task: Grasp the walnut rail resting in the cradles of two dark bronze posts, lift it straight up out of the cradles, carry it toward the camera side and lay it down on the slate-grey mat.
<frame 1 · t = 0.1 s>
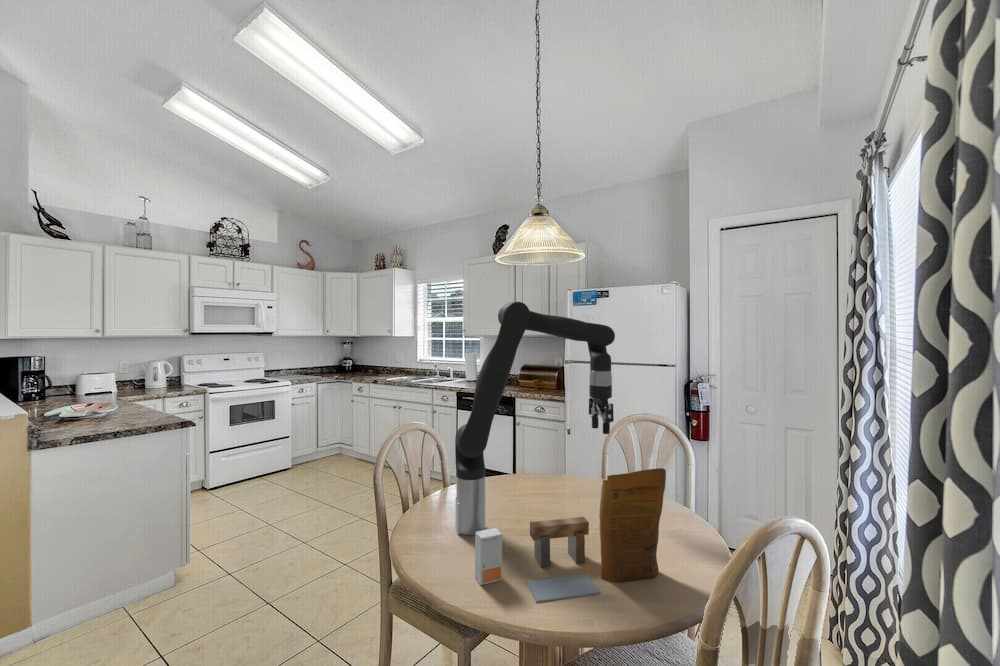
hand: (600, 430, 151), 29 cm above the table, fingers open, 8 cm apart
mat: (562, 588, 109), on the table
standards: (559, 559, 122), on the table
skincare box: (488, 580, 113), on the table
pancake mix bag: (632, 577, 114), on the table
rail: (559, 534, 122), point 7 cm above the table, touching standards
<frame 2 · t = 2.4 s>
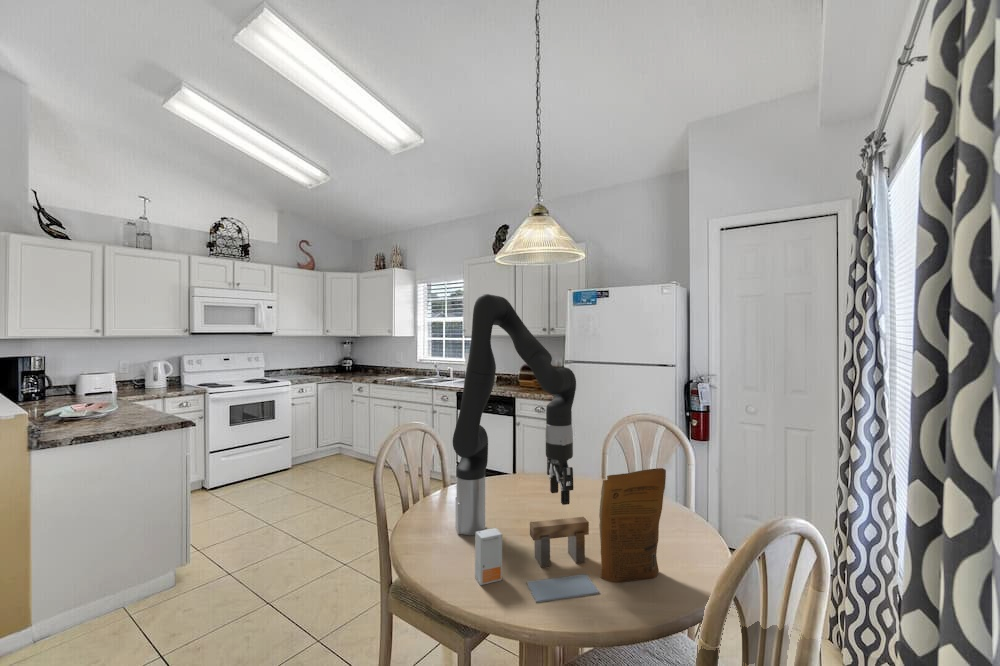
hand: (559, 498, 122), 17 cm above the table, fingers open, 8 cm apart
nothing on the table moved.
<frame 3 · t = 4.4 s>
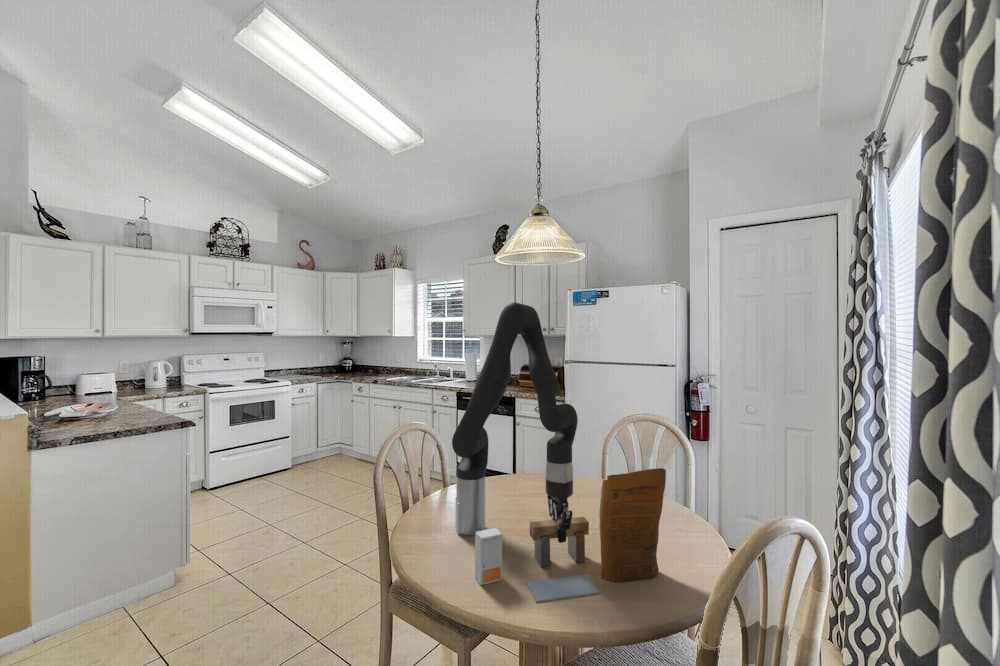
hand: (559, 538, 122), 6 cm above the table, fingers closed on rail, 3 cm apart
rail: (559, 534, 122), point 7 cm above the table, touching gripper, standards
everything else where it was.
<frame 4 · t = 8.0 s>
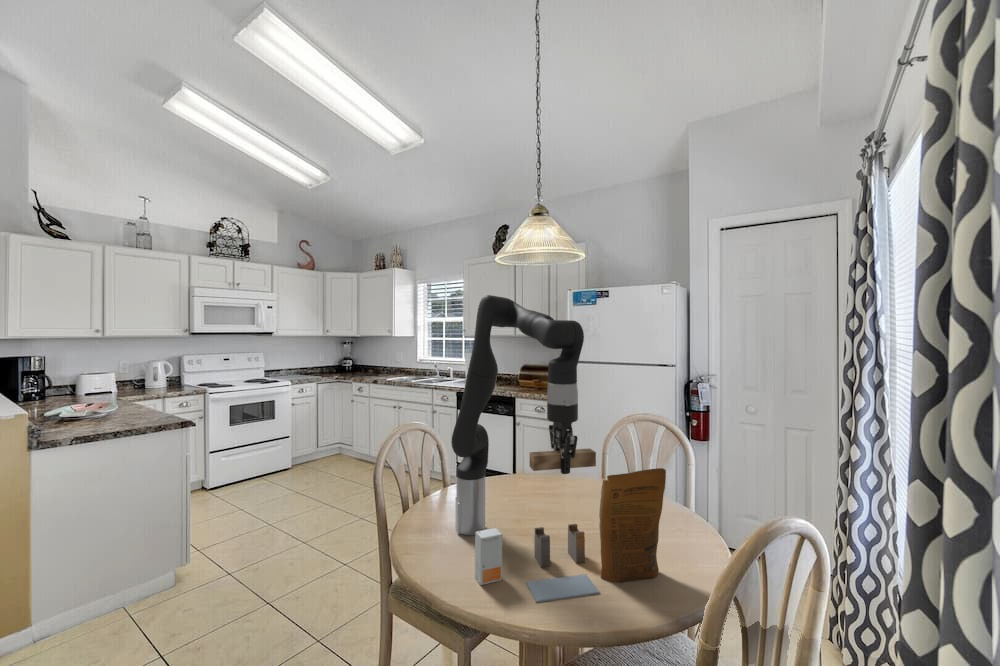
hand: (562, 470, 109), 29 cm above the table, fingers closed on rail, 3 cm apart
rail: (562, 466, 109), point 30 cm above the table, touching gripper
everything else where it was.
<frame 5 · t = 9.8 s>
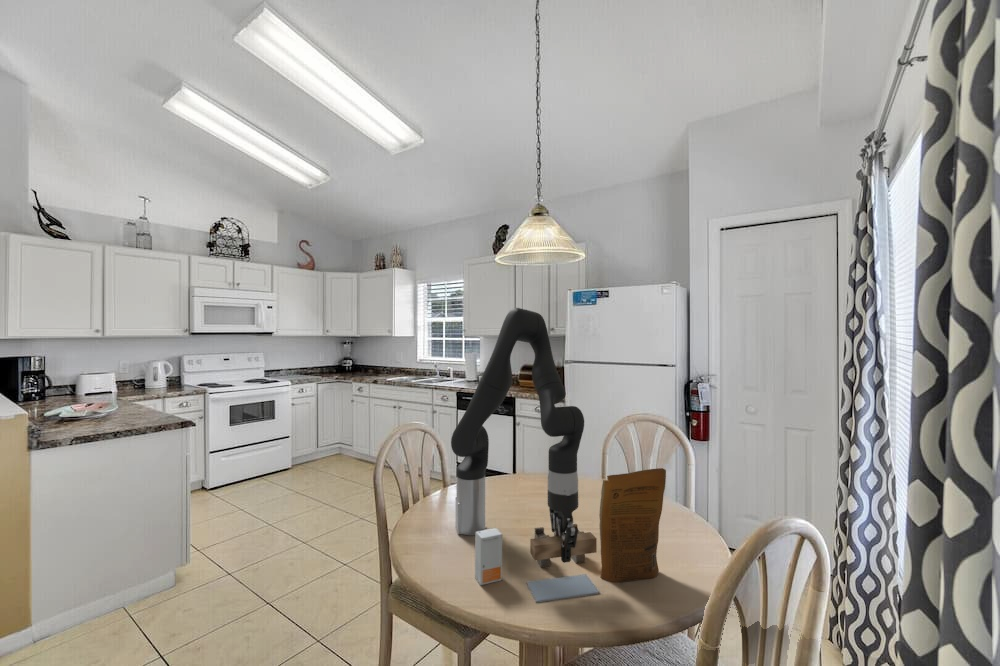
hand: (563, 557, 109), 8 cm above the table, fingers closed on rail, 3 cm apart
rail: (563, 552, 109), point 9 cm above the table, touching gripper
everything else where it was.
when the fingers open (1 cm above the table, at t = 11.4 s): rail drops 2 cm, resting on mat.
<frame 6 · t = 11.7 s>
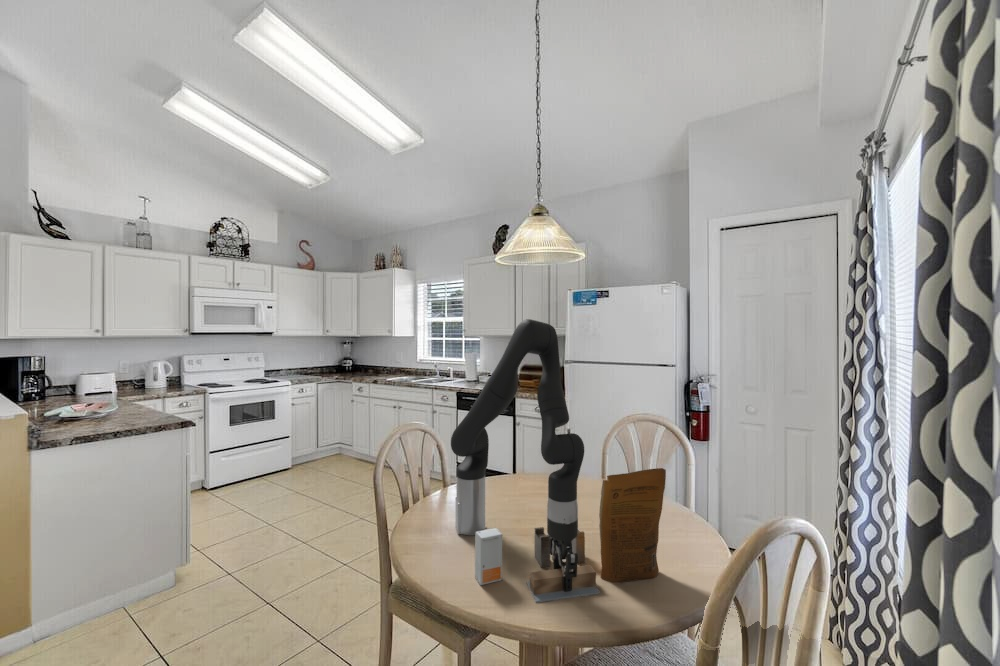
hand: (562, 582, 109), 1 cm above the table, fingers open, 6 cm apart
rail: (562, 586, 109), resting on mat
everything else where it was.
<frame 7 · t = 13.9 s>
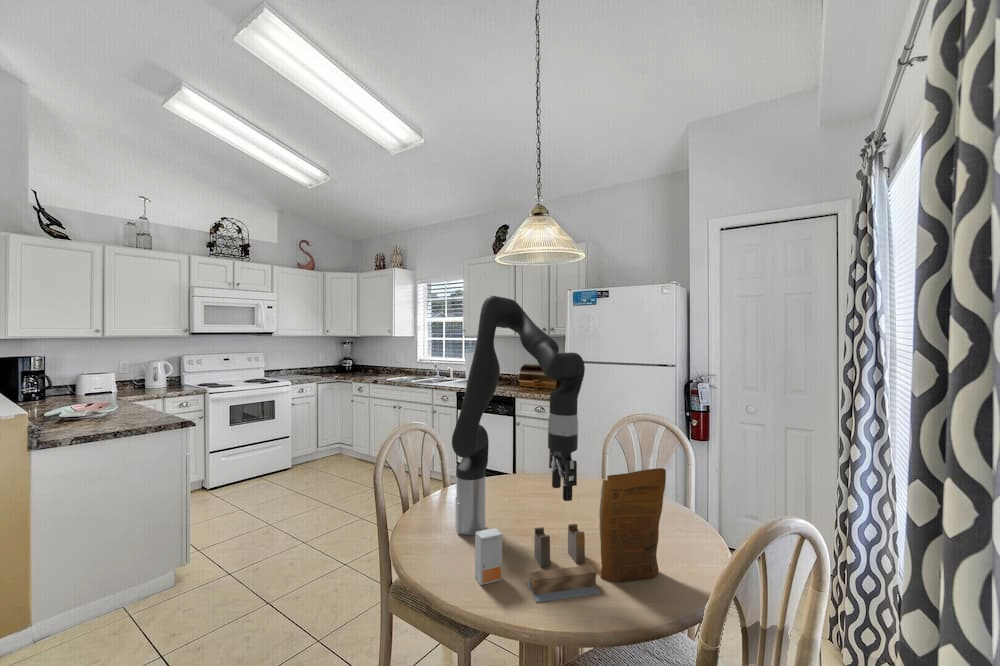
hand: (561, 493, 113), 22 cm above the table, fingers open, 8 cm apart
nothing on the table moved.
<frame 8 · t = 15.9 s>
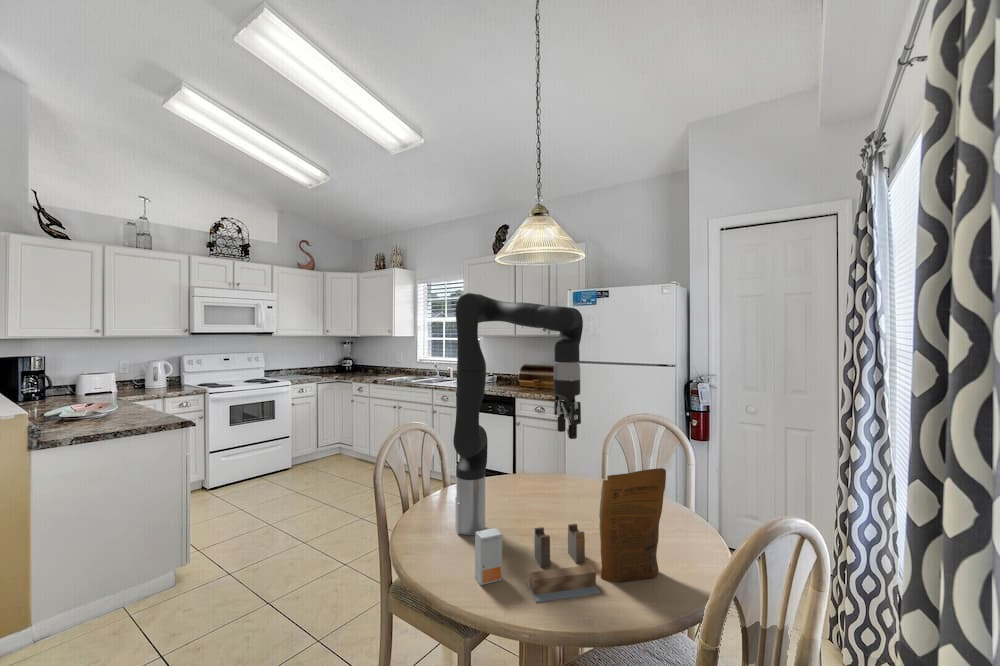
hand: (566, 434, 125), 34 cm above the table, fingers open, 8 cm apart
nothing on the table moved.
at the end: rail inside the target area (0.1 cm from its centre), resting on mat; the gripper is holding nothing; rail touching mat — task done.
